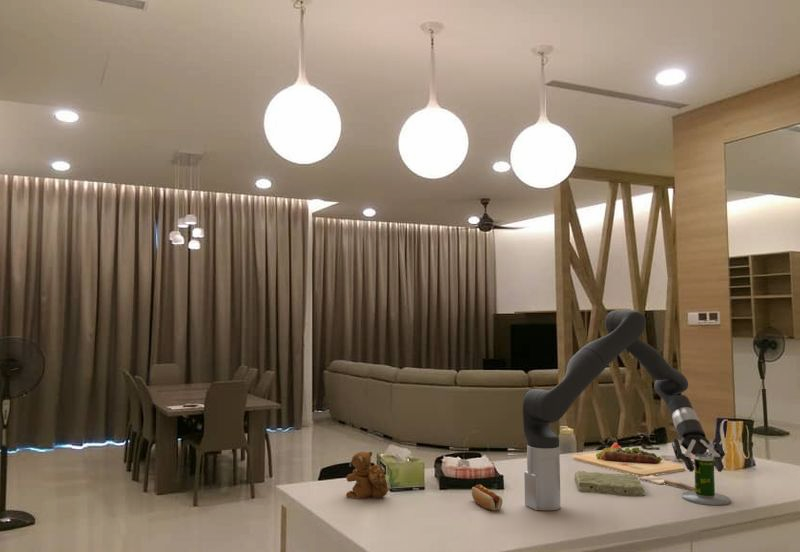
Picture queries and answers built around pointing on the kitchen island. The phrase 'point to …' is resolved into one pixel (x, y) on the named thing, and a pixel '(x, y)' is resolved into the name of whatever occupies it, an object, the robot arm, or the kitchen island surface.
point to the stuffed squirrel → (366, 478)
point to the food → (486, 498)
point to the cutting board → (629, 461)
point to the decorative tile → (608, 483)
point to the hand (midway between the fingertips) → (706, 470)
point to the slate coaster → (706, 499)
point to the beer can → (704, 476)
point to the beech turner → (668, 482)
